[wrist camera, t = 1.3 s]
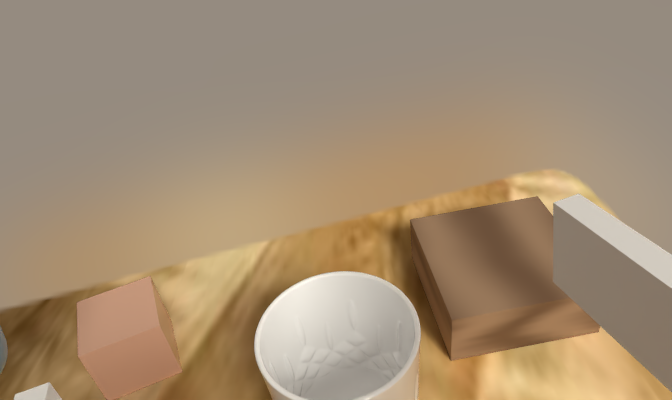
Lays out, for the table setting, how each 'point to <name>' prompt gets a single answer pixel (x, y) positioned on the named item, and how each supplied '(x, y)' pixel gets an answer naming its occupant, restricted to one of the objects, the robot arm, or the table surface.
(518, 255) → the walnut block
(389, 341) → the white cup
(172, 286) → the table surface
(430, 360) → the table surface
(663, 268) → the robot arm
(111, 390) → the terracotta cube
